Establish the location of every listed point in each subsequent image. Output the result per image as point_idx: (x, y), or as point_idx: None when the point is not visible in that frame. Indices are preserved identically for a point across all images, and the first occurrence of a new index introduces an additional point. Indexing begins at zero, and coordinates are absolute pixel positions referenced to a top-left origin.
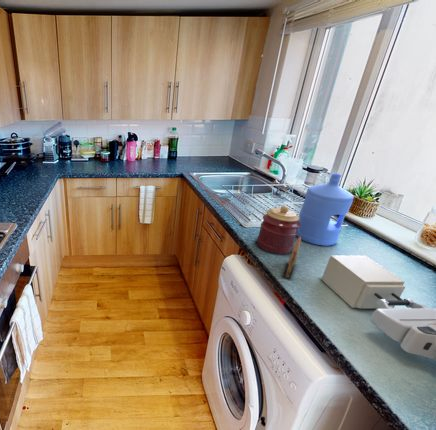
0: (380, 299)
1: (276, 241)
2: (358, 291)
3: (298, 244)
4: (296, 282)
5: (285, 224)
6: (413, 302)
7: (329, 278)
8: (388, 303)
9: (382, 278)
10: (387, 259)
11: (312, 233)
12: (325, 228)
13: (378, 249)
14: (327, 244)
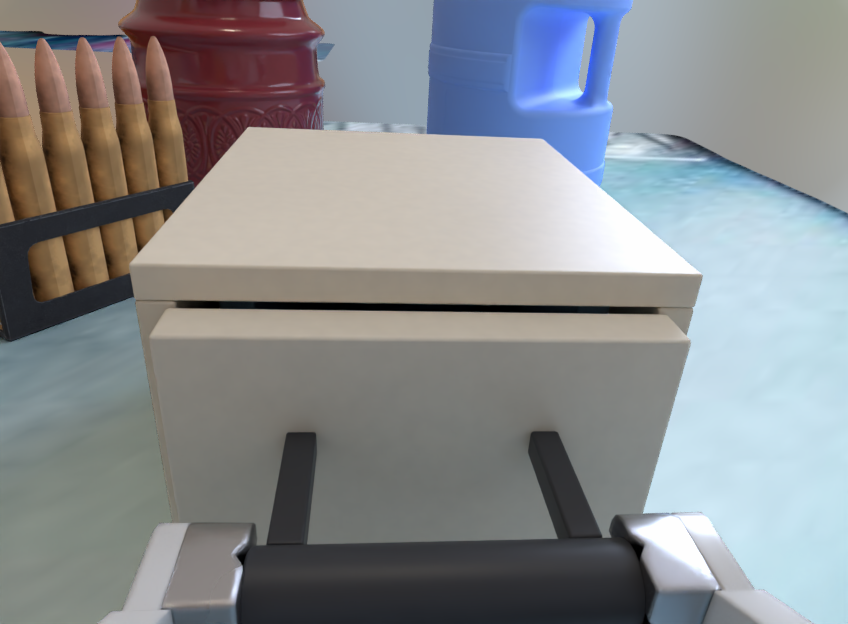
0: (156, 537)
1: None
2: None
3: (41, 57)
4: (21, 363)
5: (178, 15)
6: (712, 588)
7: None
8: (231, 620)
9: (448, 244)
10: (808, 258)
11: None
12: (504, 98)
13: (785, 224)
14: None
